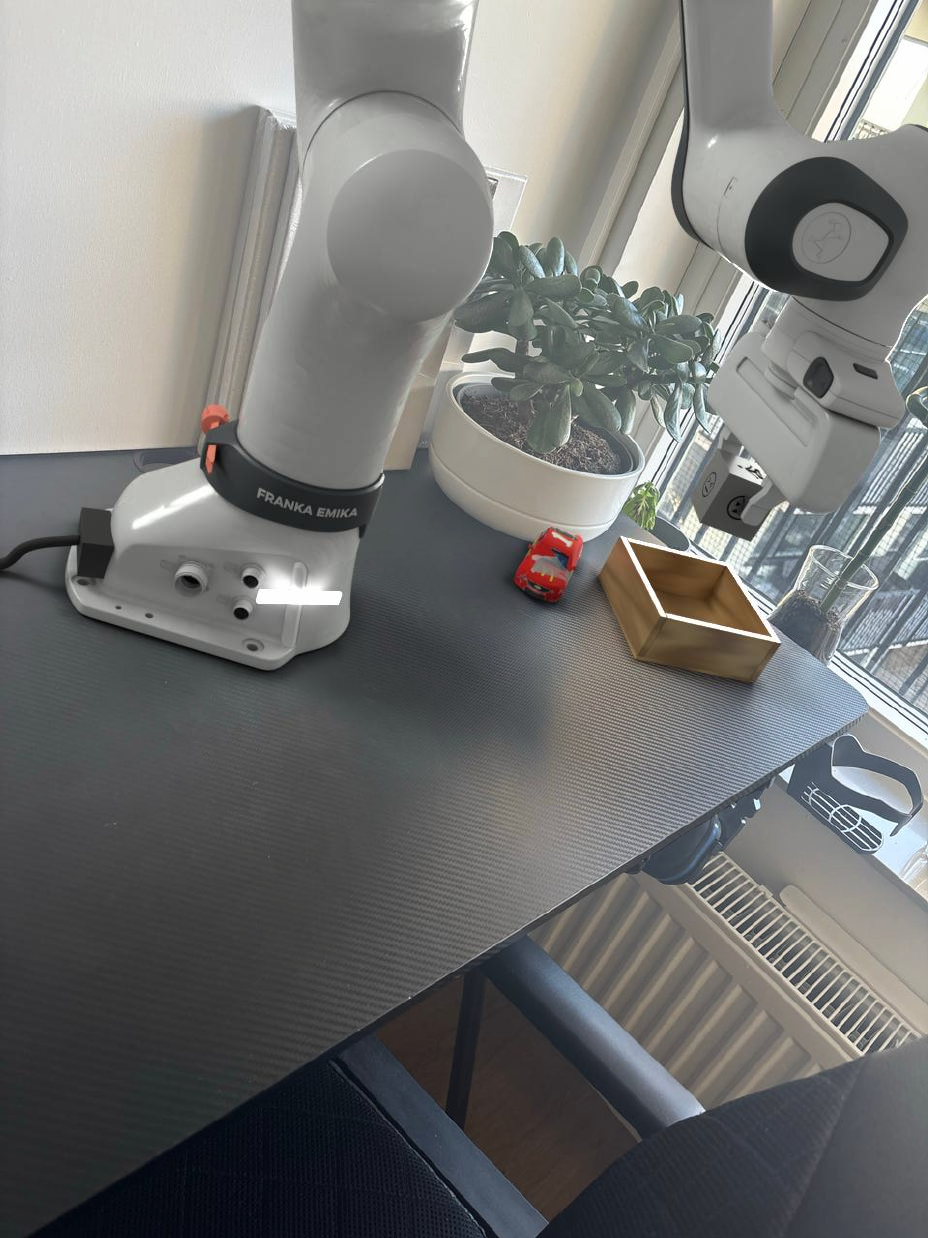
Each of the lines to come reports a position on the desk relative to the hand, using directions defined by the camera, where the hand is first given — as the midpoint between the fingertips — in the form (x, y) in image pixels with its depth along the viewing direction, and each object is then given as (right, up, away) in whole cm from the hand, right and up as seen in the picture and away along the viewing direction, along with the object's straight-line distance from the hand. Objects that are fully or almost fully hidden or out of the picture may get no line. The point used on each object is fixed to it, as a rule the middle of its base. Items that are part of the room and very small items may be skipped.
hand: (731, 499), depth 82 cm
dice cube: (-1, -2, +1) cm, 2 cm away
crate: (-1, -11, +18) cm, 21 cm away
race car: (-15, -6, +17) cm, 23 cm away
